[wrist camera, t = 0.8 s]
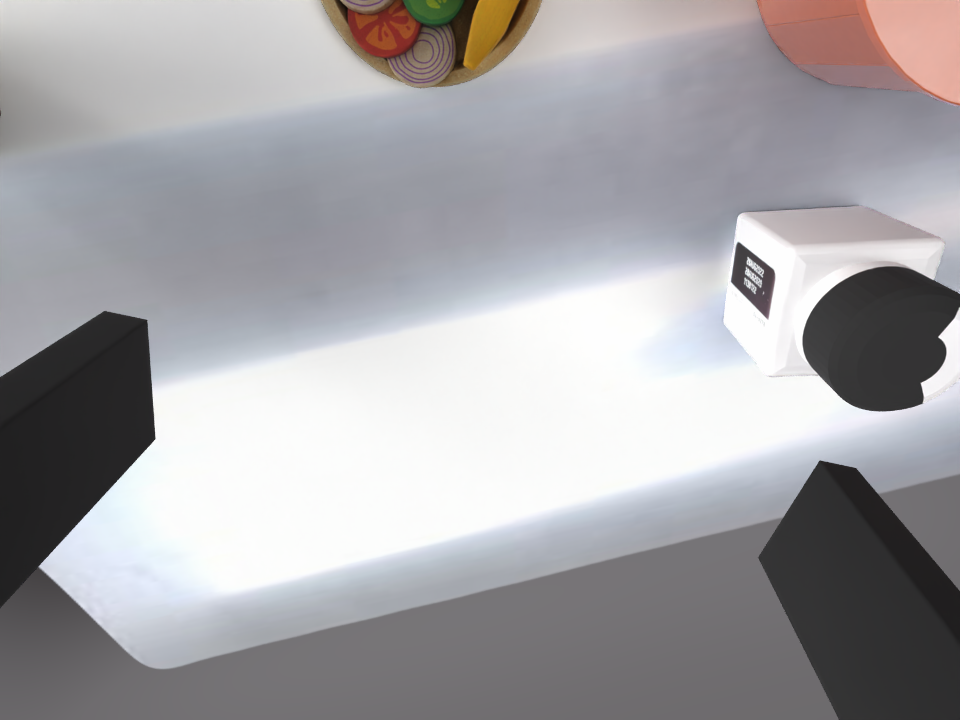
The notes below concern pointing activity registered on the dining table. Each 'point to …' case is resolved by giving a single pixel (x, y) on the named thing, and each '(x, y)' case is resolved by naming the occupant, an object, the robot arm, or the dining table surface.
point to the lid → (918, 42)
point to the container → (845, 304)
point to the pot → (828, 42)
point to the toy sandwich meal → (432, 35)
